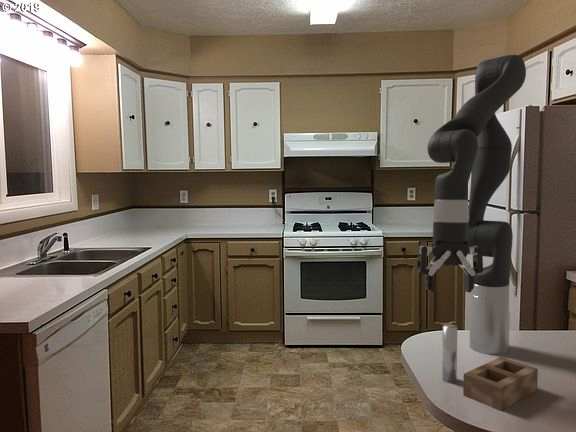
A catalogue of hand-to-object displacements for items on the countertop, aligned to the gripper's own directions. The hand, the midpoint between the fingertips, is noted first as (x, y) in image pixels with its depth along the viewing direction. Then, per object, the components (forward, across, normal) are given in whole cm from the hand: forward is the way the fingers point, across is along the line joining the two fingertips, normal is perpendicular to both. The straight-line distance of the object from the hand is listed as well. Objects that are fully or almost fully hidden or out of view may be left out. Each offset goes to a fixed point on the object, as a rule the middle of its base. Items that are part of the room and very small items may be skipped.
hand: (449, 291), depth 103 cm
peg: (+19, +1, +3) cm, 19 cm away
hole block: (+19, -7, +10) cm, 23 cm away
